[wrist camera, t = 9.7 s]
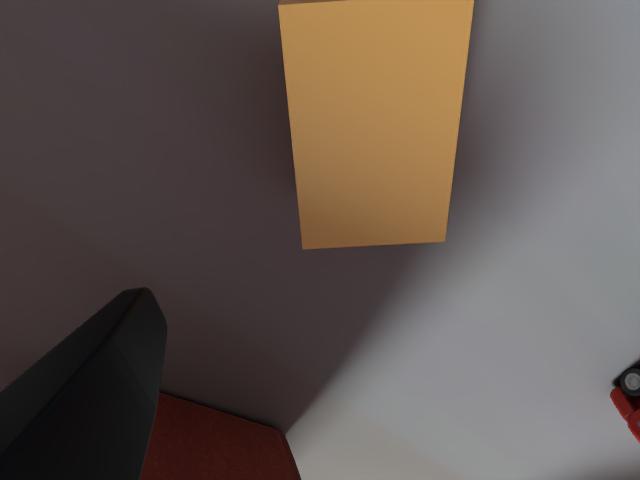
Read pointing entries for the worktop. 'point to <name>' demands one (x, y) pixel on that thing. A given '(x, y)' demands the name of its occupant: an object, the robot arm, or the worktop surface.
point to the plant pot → (213, 446)
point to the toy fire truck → (629, 400)
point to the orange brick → (374, 116)
